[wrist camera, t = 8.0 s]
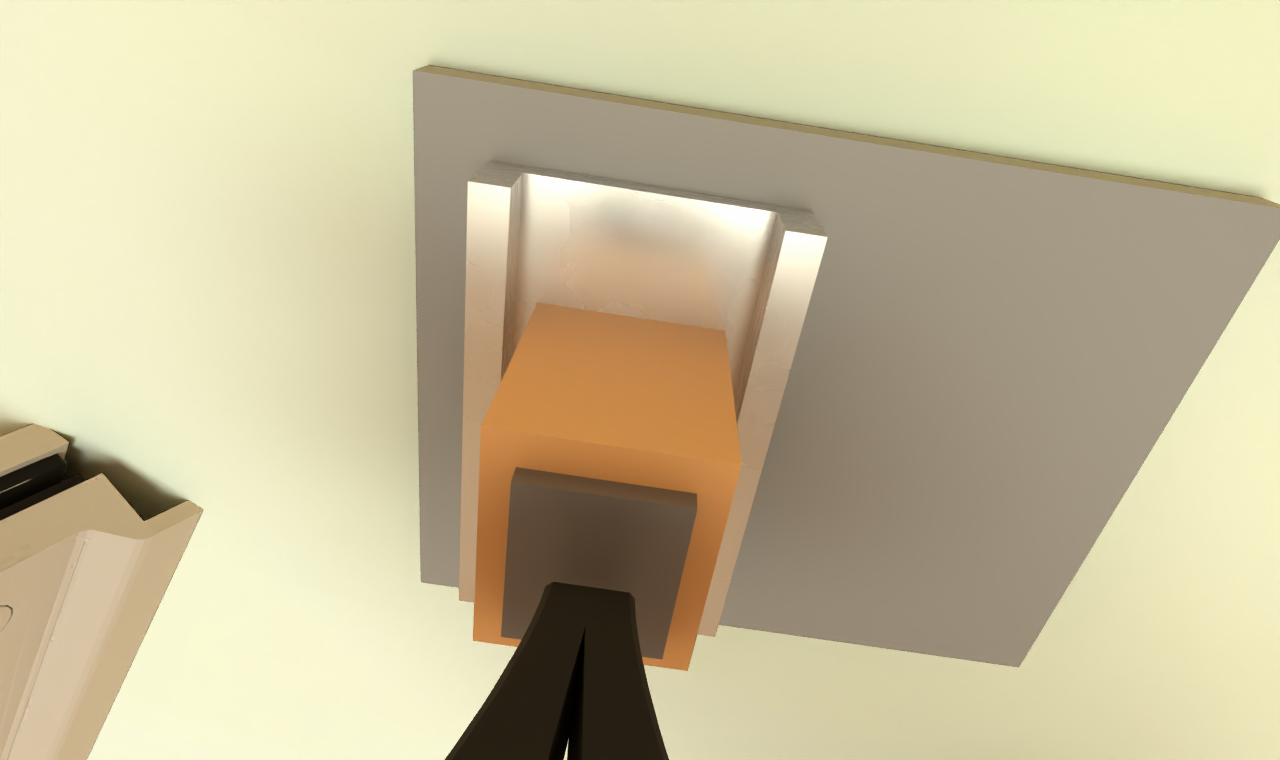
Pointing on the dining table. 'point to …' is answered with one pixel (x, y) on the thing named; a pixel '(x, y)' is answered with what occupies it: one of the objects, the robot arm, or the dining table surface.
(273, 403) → the dining table surface
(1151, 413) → the mount board
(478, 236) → the rail
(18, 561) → the beige rounded block
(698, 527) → the module
